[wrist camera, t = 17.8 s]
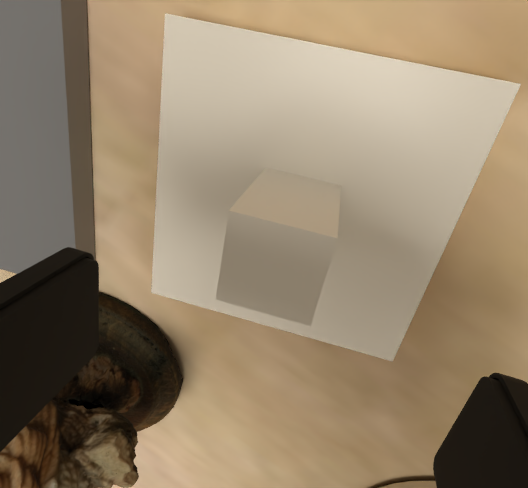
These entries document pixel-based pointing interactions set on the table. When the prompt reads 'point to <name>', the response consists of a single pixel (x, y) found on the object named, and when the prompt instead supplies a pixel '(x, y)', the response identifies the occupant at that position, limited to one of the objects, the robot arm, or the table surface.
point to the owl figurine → (99, 410)
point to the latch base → (44, 131)
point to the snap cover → (311, 179)
